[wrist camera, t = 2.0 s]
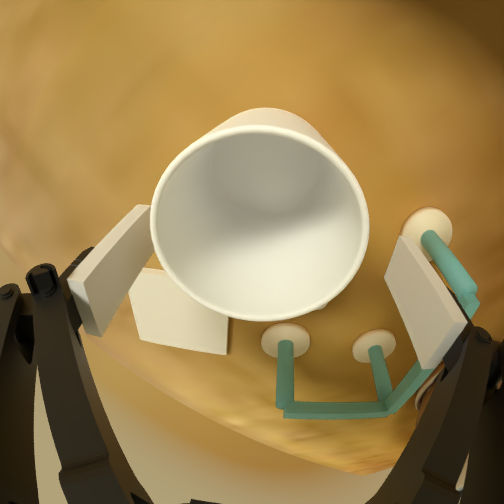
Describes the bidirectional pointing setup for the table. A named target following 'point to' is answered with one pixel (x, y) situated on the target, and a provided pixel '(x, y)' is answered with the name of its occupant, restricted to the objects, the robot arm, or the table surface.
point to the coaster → (175, 315)
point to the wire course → (372, 335)
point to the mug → (260, 218)
